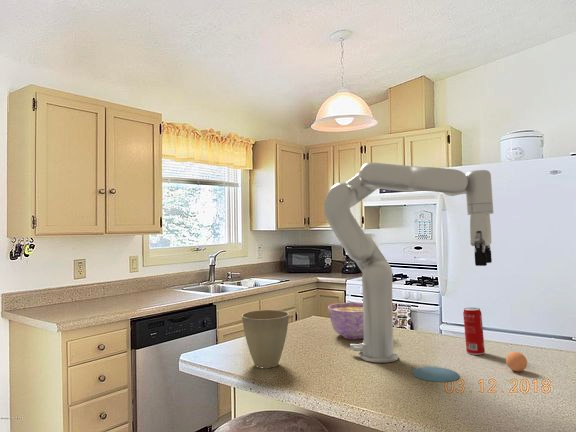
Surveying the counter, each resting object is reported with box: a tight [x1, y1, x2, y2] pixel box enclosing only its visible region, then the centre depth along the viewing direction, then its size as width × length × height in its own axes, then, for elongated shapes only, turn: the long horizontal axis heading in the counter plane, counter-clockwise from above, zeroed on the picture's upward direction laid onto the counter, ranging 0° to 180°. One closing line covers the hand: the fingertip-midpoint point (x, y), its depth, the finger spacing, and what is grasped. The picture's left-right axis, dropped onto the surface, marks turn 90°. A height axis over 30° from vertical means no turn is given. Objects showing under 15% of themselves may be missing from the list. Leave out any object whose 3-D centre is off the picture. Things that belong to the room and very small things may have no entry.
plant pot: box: [241, 309, 290, 369], centre depth 143 cm, size 15×15×16 cm
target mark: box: [411, 366, 460, 383], centre depth 132 cm, size 13×13×1 cm
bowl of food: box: [327, 302, 364, 340], centre depth 177 cm, size 20×20×12 cm
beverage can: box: [462, 307, 486, 356], centre depth 153 cm, size 6×6×15 cm
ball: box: [505, 351, 528, 372], centre depth 134 cm, size 6×6×6 cm
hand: (483, 264), depth 142 cm, fingers open, 9 cm apart
